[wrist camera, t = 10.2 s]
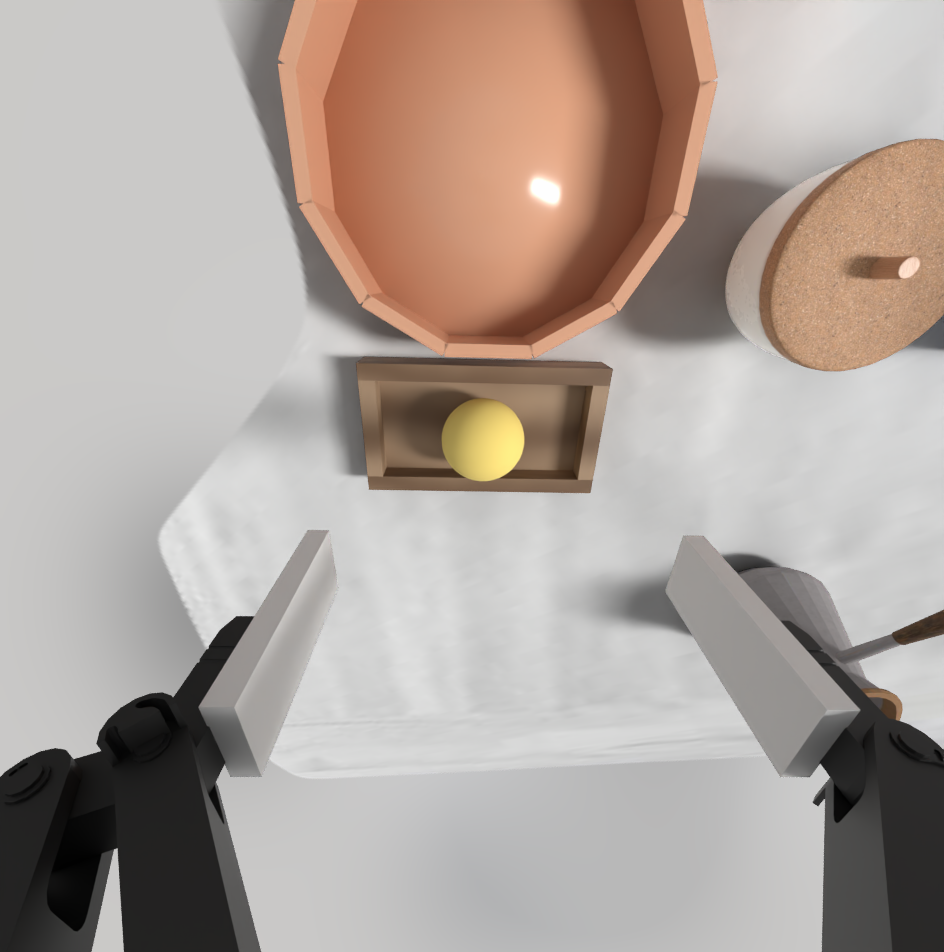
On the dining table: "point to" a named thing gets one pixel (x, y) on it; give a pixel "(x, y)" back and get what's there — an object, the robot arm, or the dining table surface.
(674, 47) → the bowl
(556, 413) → the tray
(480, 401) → the ball
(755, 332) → the lidded jar
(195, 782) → the robot arm
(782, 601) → the coffee pot
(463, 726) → the dining table surface
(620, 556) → the dining table surface
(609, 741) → the dining table surface
